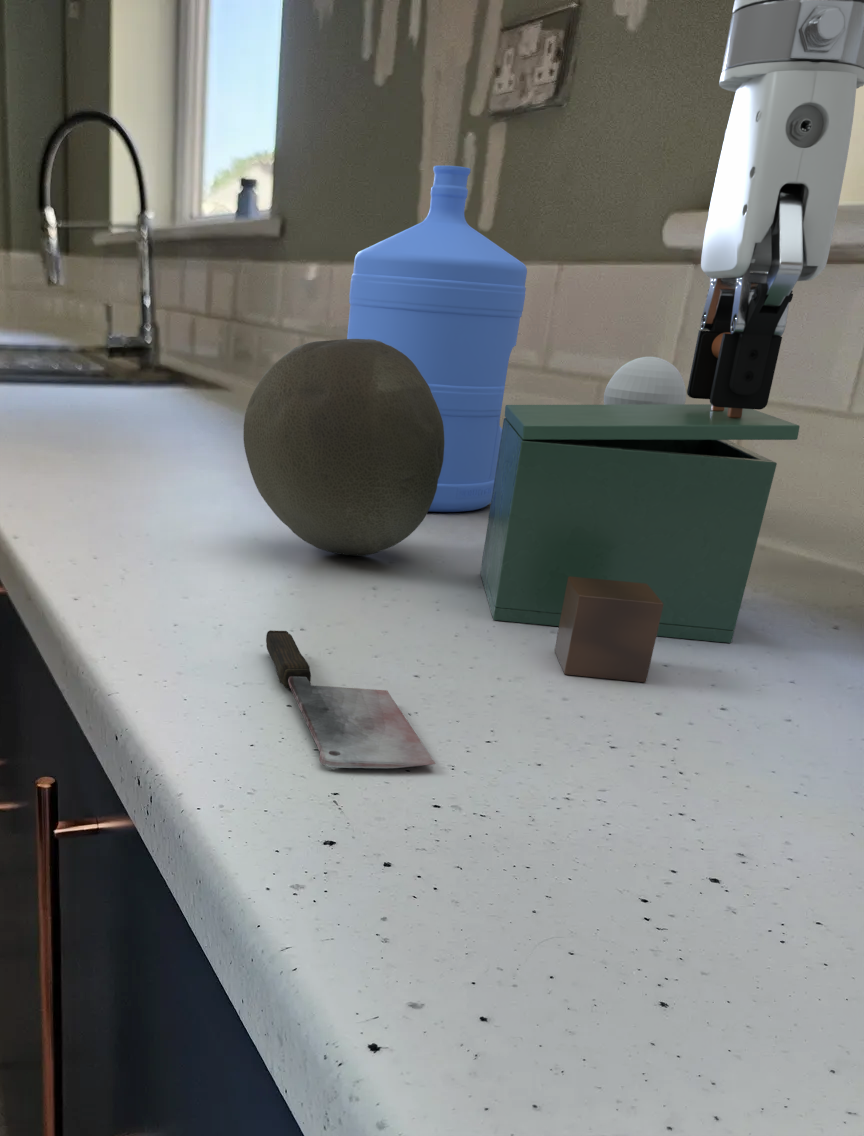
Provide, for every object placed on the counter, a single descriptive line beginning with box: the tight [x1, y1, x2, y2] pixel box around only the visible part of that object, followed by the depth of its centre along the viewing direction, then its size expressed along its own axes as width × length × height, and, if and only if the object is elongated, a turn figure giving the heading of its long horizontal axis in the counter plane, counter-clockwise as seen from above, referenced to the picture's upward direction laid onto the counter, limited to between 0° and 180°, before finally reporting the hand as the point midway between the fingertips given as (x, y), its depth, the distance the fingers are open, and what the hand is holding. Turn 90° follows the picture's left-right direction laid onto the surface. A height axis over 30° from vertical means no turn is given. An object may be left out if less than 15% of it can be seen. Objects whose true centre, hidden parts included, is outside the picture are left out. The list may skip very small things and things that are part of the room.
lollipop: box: [603, 356, 687, 405], centre depth 87 cm, size 6×6×15 cm
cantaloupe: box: [243, 338, 444, 557], centre depth 81 cm, size 14×14×15 cm
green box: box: [479, 417, 778, 644], centre depth 73 cm, size 15×13×11 cm
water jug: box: [346, 165, 528, 513], centre depth 103 cm, size 16×16×28 cm
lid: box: [504, 332, 800, 441], centre depth 69 cm, size 15×13×5 cm
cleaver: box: [265, 629, 436, 769], centre depth 54 cm, size 16×1×5 cm
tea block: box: [554, 576, 664, 683], centre depth 62 cm, size 4×4×4 cm
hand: (724, 399), depth 69 cm, fingers closed on lid, 5 cm apart
